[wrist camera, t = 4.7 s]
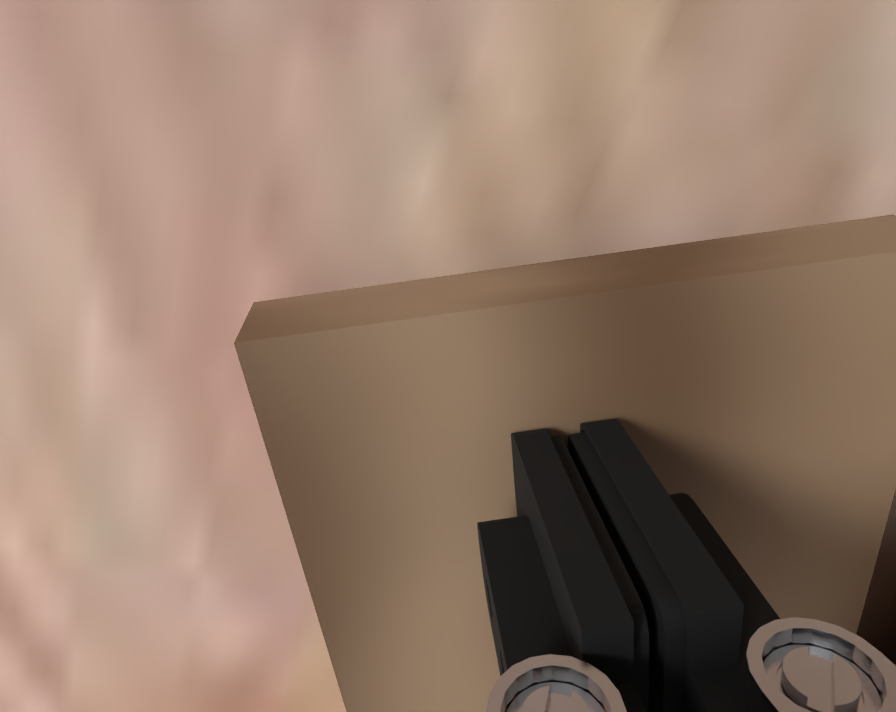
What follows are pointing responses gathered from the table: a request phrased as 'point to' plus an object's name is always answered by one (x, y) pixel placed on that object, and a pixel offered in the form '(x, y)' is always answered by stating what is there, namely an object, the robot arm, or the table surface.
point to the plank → (577, 429)
